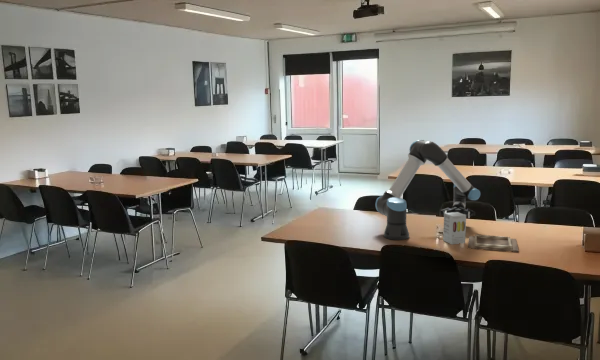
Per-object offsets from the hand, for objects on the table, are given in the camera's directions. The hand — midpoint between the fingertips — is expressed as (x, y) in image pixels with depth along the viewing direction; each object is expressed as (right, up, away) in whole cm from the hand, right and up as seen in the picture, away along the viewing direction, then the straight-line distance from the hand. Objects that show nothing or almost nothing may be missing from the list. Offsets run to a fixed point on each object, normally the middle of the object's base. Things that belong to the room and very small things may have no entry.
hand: (456, 215), depth 307 cm
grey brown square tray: (+15, -15, -16) cm, 27 cm away
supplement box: (-4, -15, -9) cm, 18 cm away
